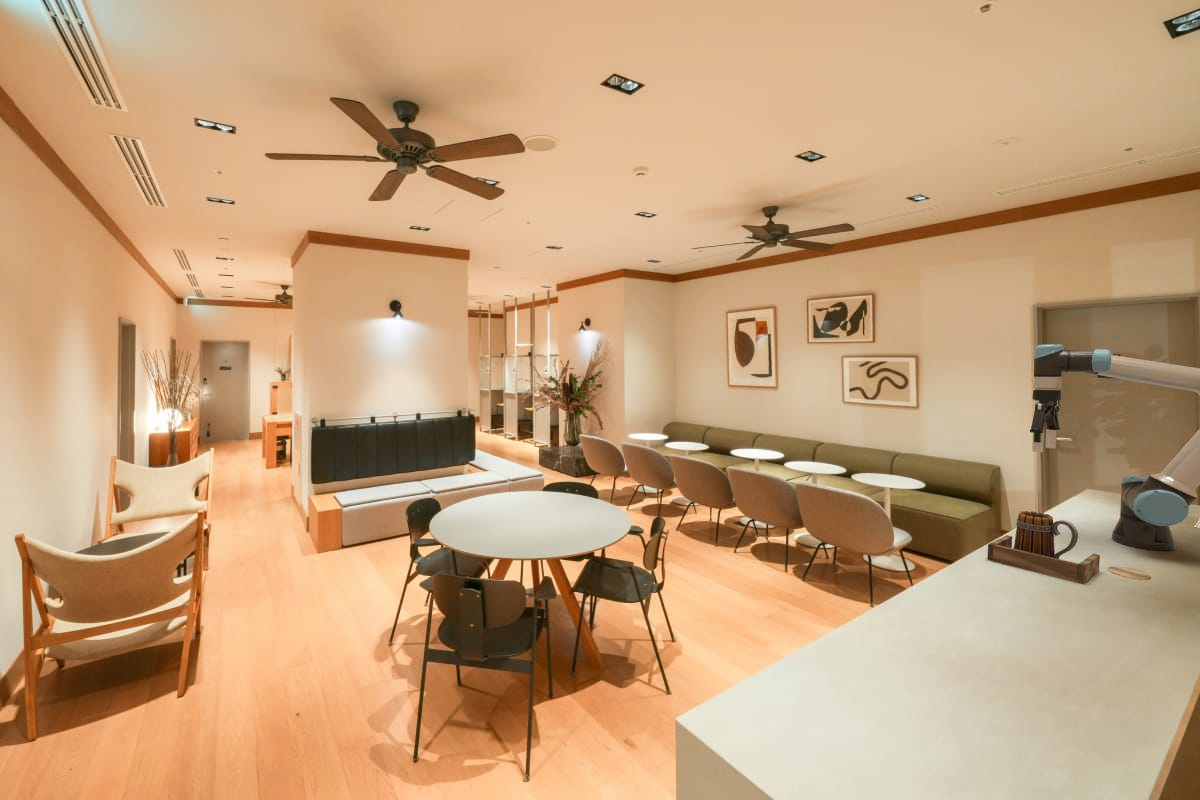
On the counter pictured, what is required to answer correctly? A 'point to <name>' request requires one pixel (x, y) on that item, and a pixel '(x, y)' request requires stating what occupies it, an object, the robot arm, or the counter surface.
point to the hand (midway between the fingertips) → (1044, 450)
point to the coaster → (1129, 573)
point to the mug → (1041, 534)
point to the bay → (1042, 562)
